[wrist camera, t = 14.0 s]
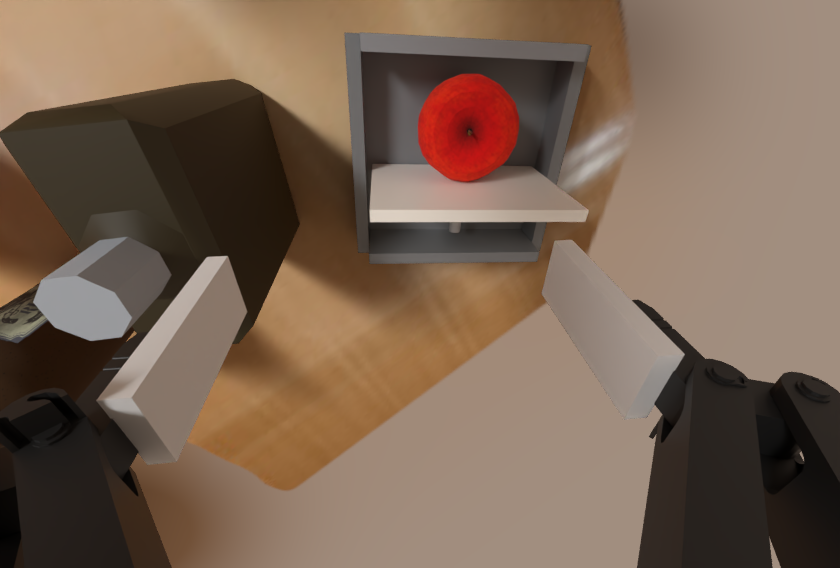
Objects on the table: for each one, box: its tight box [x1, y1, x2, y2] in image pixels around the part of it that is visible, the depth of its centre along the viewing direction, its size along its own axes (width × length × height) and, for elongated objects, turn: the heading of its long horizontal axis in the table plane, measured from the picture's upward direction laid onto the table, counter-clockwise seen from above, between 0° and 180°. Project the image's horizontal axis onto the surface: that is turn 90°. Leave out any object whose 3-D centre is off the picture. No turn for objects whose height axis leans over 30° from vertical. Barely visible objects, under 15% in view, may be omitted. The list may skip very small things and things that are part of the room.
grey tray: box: [345, 33, 591, 264], centre depth 36 cm, size 20×21×7 cm
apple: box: [418, 74, 519, 182], centre depth 33 cm, size 9×9×8 cm
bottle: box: [0, 79, 299, 344], centre depth 27 cm, size 8×16×25 cm, turn 5°
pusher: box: [370, 164, 589, 233], centre depth 35 cm, size 6×17×13 cm, turn 88°
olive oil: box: [0, 283, 135, 448], centre depth 34 cm, size 11×11×25 cm
